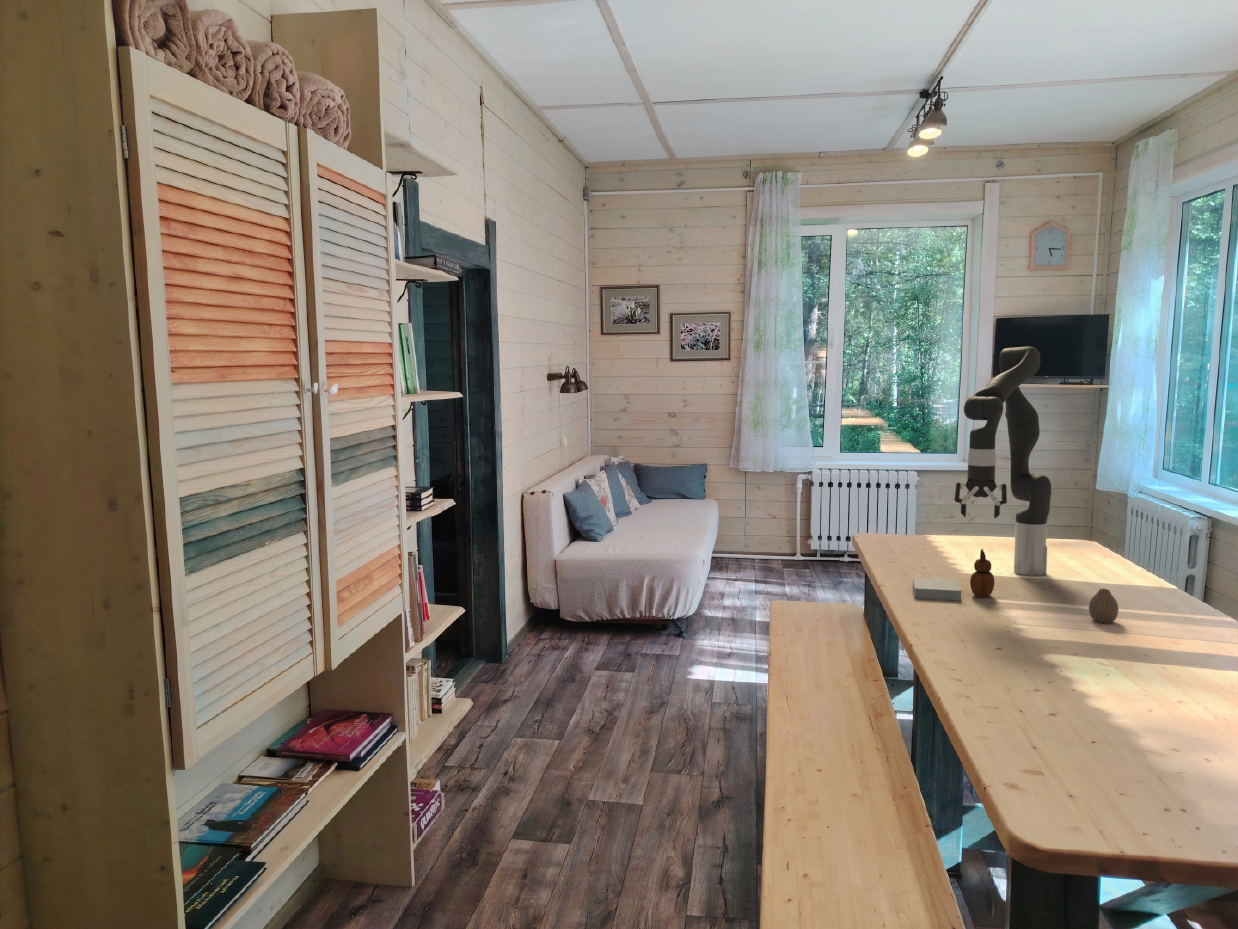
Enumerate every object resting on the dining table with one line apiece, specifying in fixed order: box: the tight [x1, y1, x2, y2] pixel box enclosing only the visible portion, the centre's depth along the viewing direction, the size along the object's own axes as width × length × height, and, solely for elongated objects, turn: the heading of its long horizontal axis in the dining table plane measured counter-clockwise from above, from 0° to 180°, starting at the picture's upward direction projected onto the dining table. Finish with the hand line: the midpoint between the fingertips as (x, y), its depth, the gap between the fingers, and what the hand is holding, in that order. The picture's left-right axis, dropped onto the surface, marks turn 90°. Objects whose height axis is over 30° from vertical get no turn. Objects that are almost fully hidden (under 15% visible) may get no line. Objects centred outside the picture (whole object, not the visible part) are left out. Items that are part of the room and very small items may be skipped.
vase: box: [1088, 588, 1120, 624], centre depth 219 cm, size 7×7×9 cm
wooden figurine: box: [969, 548, 995, 598], centre depth 244 cm, size 7×6×15 cm
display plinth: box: [912, 576, 962, 602], centre depth 249 cm, size 13×13×3 cm
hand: (979, 516), depth 243 cm, fingers open, 8 cm apart
